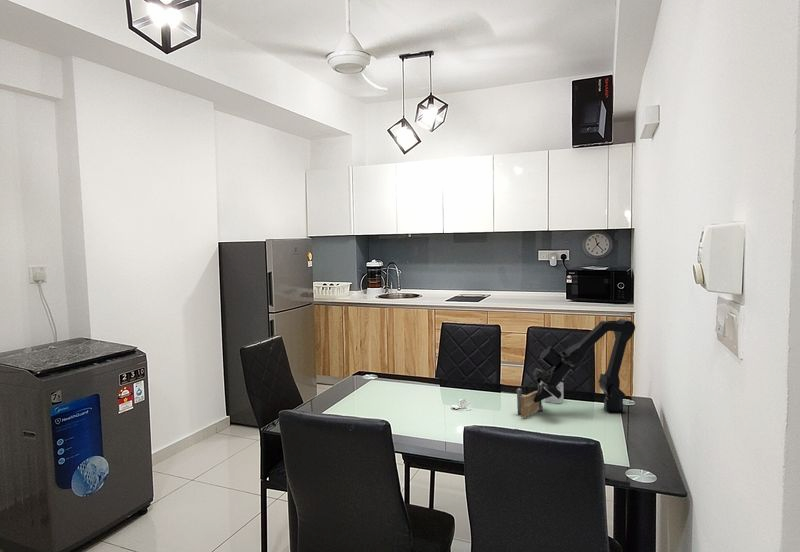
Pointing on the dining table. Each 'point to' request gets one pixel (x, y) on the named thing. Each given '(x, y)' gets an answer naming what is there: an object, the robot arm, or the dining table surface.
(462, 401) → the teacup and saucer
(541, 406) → the hinge base
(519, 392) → the post
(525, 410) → the wooden plank panel
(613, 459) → the dining table surface
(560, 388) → the supplement box
